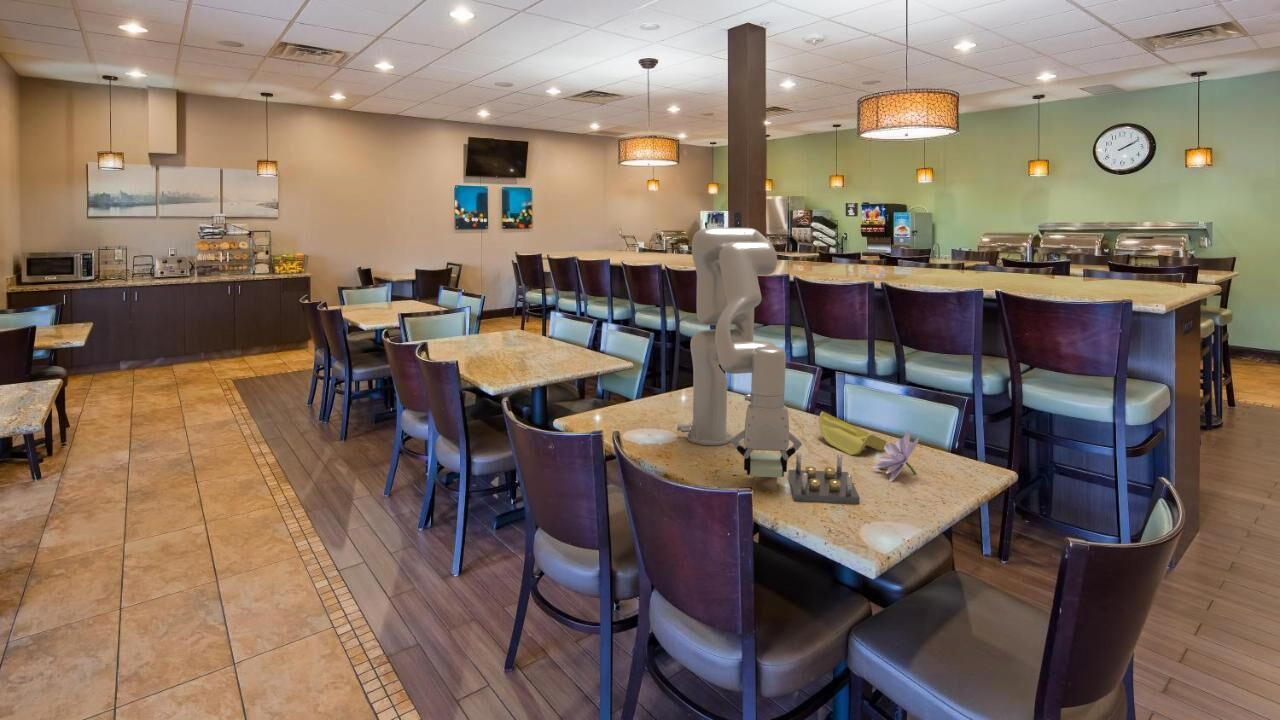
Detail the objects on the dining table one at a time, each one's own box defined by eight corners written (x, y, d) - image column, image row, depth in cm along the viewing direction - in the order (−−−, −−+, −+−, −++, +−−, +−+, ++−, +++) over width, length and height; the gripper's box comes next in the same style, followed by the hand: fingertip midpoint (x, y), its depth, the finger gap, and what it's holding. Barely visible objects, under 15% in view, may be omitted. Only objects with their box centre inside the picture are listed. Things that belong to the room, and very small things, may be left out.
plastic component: (890, 443, 185) (867, 432, 180) (878, 467, 185) (855, 457, 180) (840, 419, 202) (818, 409, 197) (829, 442, 202) (807, 432, 198)
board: (750, 476, 155) (751, 467, 155) (749, 460, 166) (749, 452, 166) (782, 477, 154) (782, 469, 154) (778, 461, 165) (779, 453, 165)
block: (754, 490, 157) (755, 474, 157) (753, 478, 165) (753, 462, 164) (776, 491, 157) (777, 475, 156) (774, 479, 164) (774, 463, 164)
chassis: (794, 500, 151) (795, 475, 150) (788, 475, 167) (789, 451, 166) (859, 503, 150) (860, 477, 148) (847, 478, 165) (848, 454, 164)
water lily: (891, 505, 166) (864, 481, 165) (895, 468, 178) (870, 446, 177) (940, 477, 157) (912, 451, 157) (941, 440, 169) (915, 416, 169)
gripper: (729, 403, 155) (727, 477, 158) (808, 405, 152) (804, 481, 156) (729, 395, 162) (727, 467, 165) (804, 397, 160) (801, 470, 163)
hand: (765, 473), depth 160 cm, fingers open, 7 cm apart
